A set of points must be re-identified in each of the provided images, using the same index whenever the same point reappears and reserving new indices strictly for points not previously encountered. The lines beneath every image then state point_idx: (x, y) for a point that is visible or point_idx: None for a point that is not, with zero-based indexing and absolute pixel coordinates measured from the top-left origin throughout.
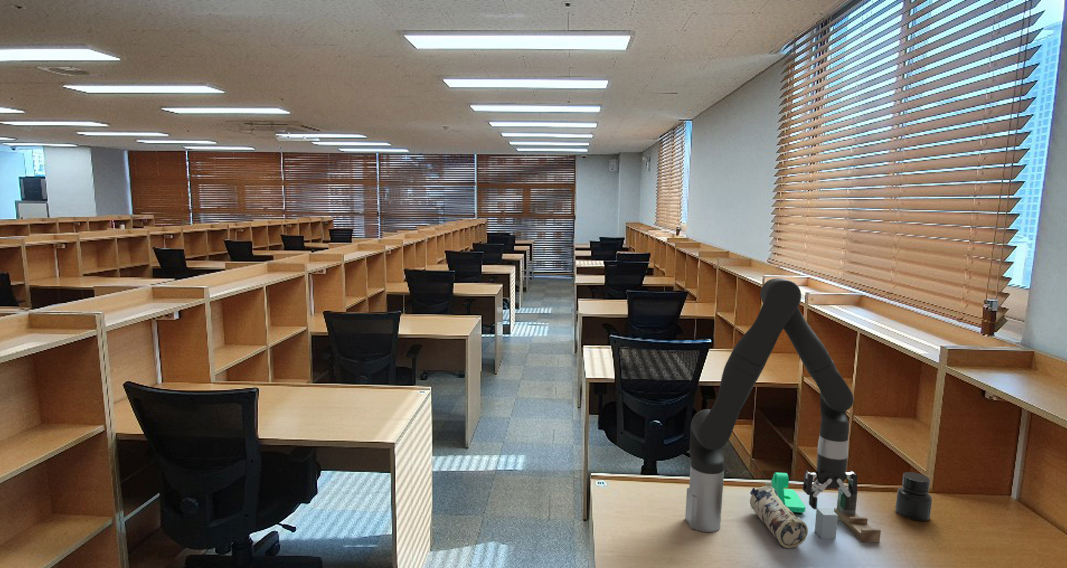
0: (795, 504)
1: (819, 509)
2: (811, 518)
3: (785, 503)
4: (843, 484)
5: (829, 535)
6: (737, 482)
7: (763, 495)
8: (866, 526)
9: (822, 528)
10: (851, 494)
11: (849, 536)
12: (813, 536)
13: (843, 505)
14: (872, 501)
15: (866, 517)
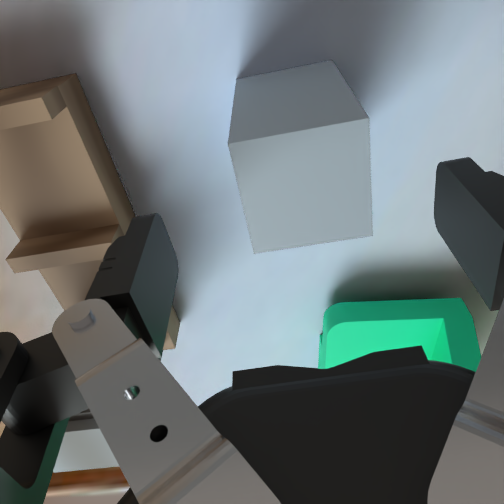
0: (373, 342)
1: (360, 213)
2: (302, 273)
3: (424, 342)
4: (127, 451)
5: (280, 77)
6: None
7: None
8: (25, 206)
9: (343, 80)
10: (44, 337)
11: (142, 128)
12: (376, 78)
13: (157, 242)
14: (3, 426)
15: (12, 269)
